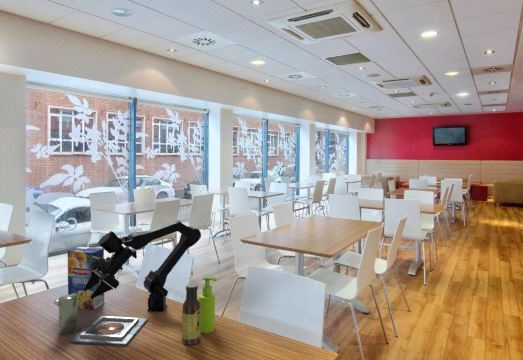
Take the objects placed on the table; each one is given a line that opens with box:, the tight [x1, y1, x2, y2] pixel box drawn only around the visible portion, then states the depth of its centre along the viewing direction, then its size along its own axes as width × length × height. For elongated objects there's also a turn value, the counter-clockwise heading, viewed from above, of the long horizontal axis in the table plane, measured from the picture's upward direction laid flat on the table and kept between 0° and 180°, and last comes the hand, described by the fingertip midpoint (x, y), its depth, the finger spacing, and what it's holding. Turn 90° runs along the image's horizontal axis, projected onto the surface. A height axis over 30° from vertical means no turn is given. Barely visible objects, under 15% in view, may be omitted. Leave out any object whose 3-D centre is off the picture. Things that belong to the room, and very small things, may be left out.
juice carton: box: [67, 246, 105, 311], centre depth 159 cm, size 12×8×24 cm, turn 79°
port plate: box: [68, 315, 149, 347], centre depth 137 cm, size 20×20×2 cm
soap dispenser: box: [198, 276, 219, 334], centre depth 139 cm, size 6×7×20 cm
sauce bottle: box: [181, 283, 201, 345], centre depth 131 cm, size 6×6×20 cm
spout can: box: [53, 294, 79, 336], centre depth 136 cm, size 8×6×13 cm
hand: (87, 294), depth 140 cm, fingers open, 9 cm apart
